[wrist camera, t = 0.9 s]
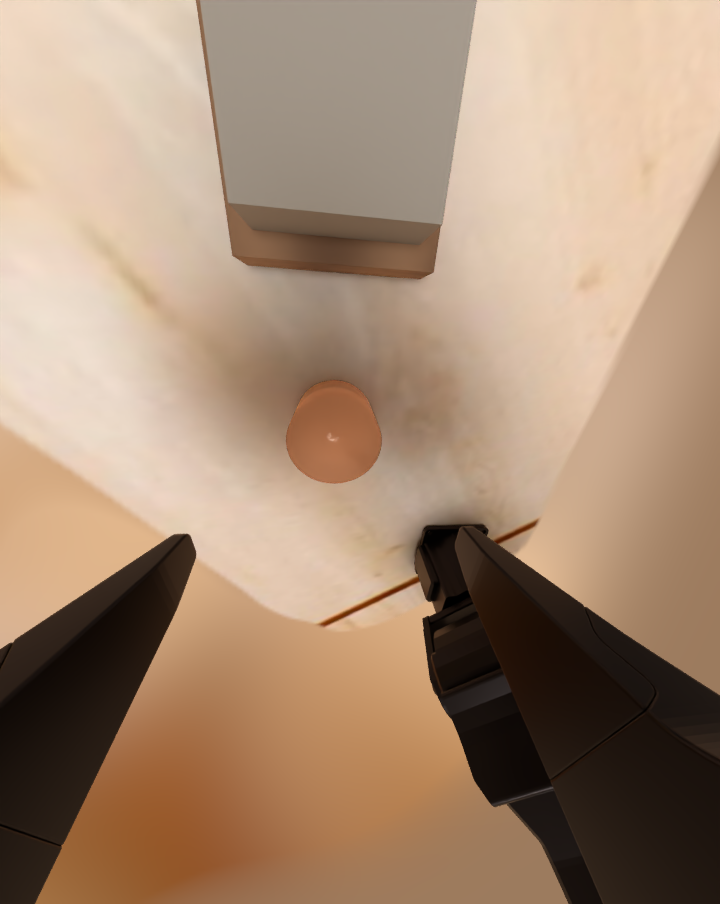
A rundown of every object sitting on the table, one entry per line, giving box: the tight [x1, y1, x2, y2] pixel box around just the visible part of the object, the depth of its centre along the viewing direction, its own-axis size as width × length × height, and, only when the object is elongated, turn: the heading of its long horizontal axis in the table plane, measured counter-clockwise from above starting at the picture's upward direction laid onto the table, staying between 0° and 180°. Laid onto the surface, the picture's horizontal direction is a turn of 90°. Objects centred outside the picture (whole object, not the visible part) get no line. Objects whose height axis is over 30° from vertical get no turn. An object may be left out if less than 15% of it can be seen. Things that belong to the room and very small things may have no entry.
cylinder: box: [286, 380, 382, 483], centre depth 17 cm, size 6×6×4 cm
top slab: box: [200, 0, 477, 245], centre depth 9 cm, size 8×8×3 cm
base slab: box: [196, 0, 440, 279], centre depth 12 cm, size 10×10×3 cm
